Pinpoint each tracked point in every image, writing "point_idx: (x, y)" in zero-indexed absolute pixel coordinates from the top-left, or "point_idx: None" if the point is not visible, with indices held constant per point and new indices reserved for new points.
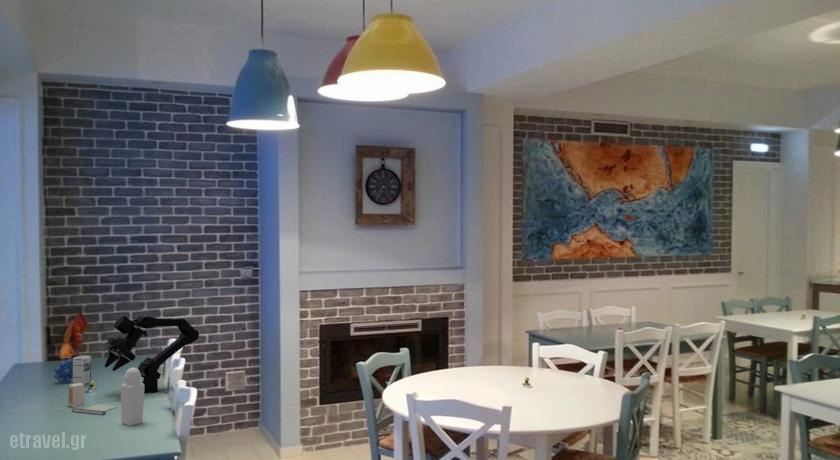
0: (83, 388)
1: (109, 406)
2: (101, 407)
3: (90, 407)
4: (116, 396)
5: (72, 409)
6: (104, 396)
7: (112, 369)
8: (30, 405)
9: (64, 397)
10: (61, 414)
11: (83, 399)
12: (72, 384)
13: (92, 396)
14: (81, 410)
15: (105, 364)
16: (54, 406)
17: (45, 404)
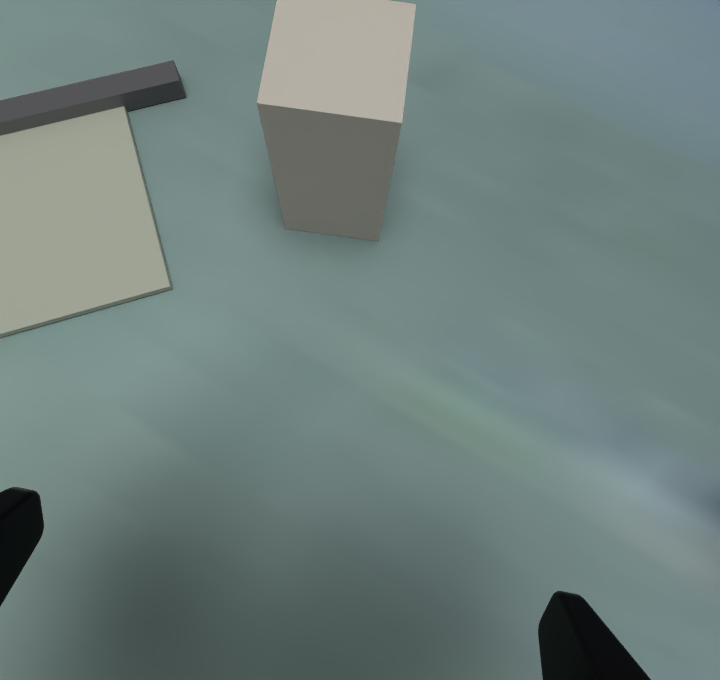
0: (266, 127)
1: (10, 310)
2: (47, 251)
3: (135, 199)
4: (335, 599)
5: (168, 64)
6: (437, 518)
7: (14, 490)
8: (617, 14)
9: (684, 273)
10: (179, 6)
11: (280, 197)
12: (394, 34)
13: (530, 444)
14: (72, 84)
15: (588, 637)
16: (447, 87)
17: (563, 81)
